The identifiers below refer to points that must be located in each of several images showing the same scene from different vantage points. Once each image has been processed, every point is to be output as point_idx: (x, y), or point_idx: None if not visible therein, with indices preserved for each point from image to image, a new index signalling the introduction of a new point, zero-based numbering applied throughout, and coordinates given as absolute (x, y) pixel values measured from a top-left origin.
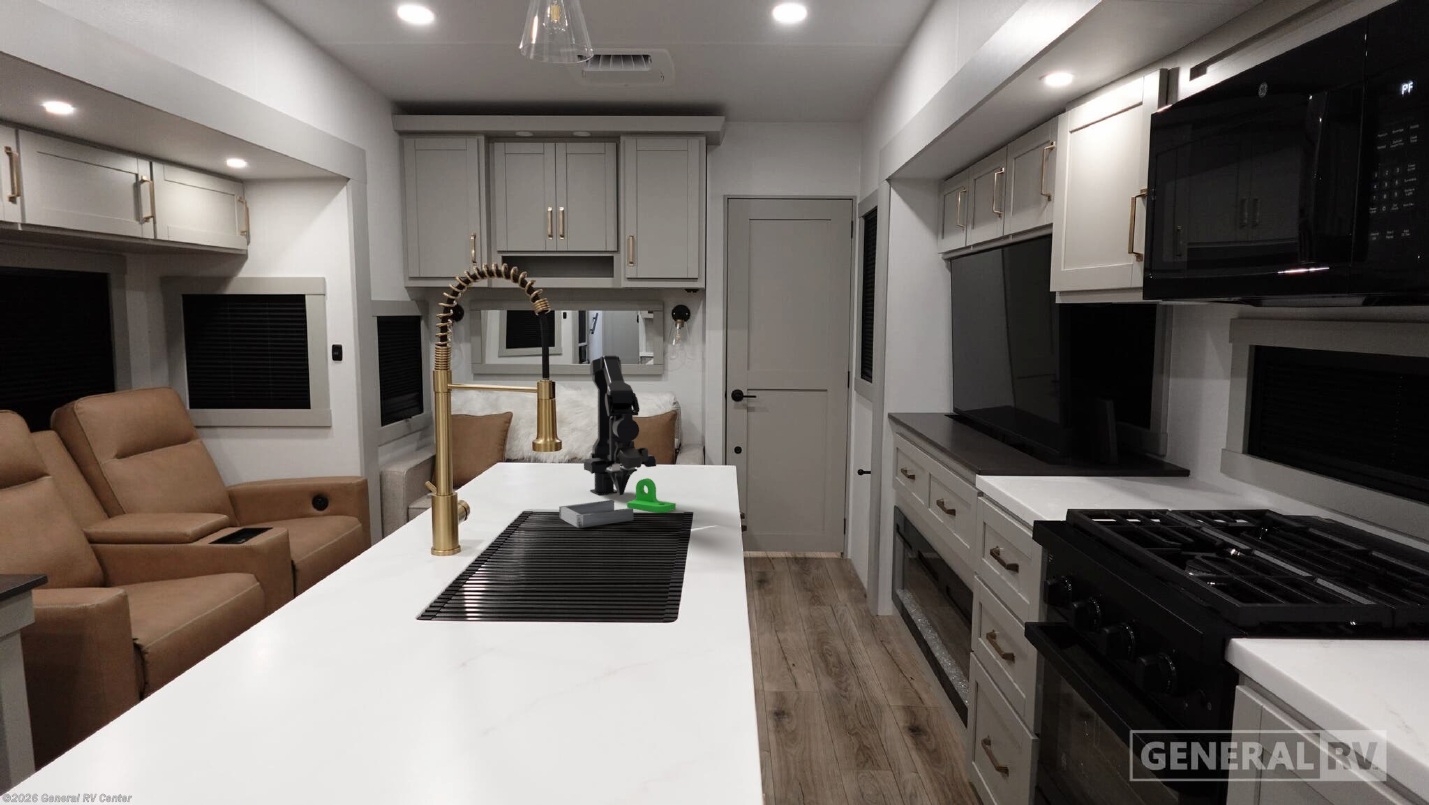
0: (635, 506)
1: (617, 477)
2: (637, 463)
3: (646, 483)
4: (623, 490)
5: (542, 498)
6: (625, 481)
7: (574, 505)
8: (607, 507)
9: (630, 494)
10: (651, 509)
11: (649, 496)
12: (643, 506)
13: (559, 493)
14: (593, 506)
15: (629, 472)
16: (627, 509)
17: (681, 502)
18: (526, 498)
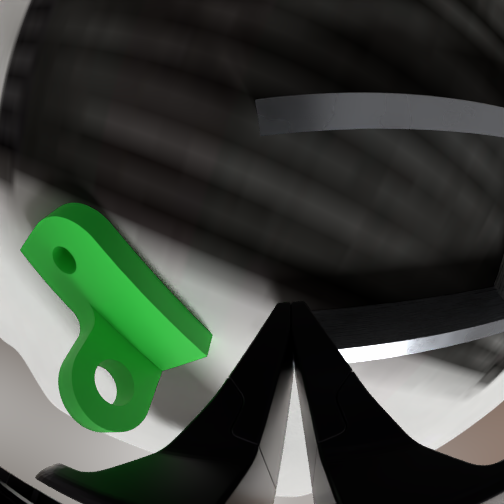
0: (178, 315)
1: (387, 438)
2: None
3: (89, 400)
4: (276, 324)
5: None
6: (250, 394)
7: (482, 328)
8: (325, 327)
9: (167, 431)
10: (114, 242)
11: (100, 341)
12: (143, 284)
13: None
14: (401, 329)
15: (177, 494)
16: (309, 95)
17: (31, 314)
18: None
